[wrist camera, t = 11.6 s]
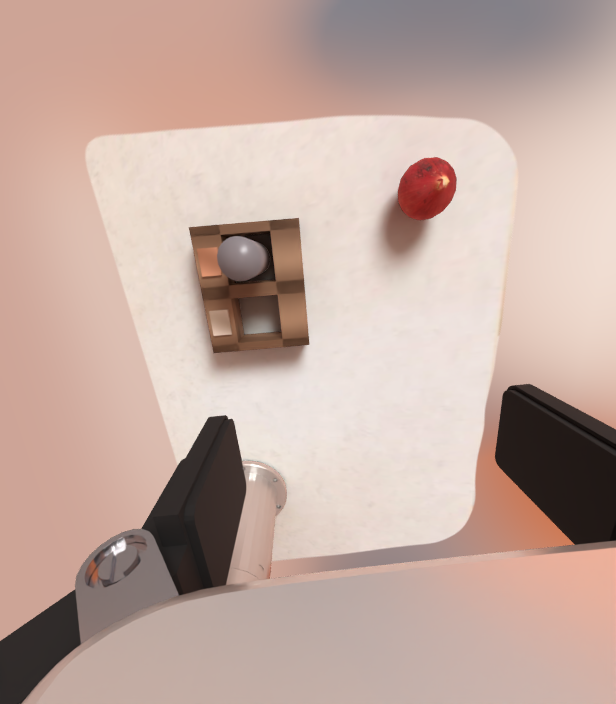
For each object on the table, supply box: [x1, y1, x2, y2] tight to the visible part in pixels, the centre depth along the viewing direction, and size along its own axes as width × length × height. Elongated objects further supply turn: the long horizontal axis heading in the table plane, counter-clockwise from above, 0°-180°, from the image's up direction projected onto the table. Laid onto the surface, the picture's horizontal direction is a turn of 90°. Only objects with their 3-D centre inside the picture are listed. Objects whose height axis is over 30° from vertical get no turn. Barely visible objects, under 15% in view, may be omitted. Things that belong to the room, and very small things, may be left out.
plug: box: [217, 236, 270, 281], centre depth 31 cm, size 4×4×10 cm
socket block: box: [189, 218, 309, 353], centre depth 35 cm, size 14×12×4 cm
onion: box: [398, 157, 457, 220], centre depth 31 cm, size 6×6×8 cm
